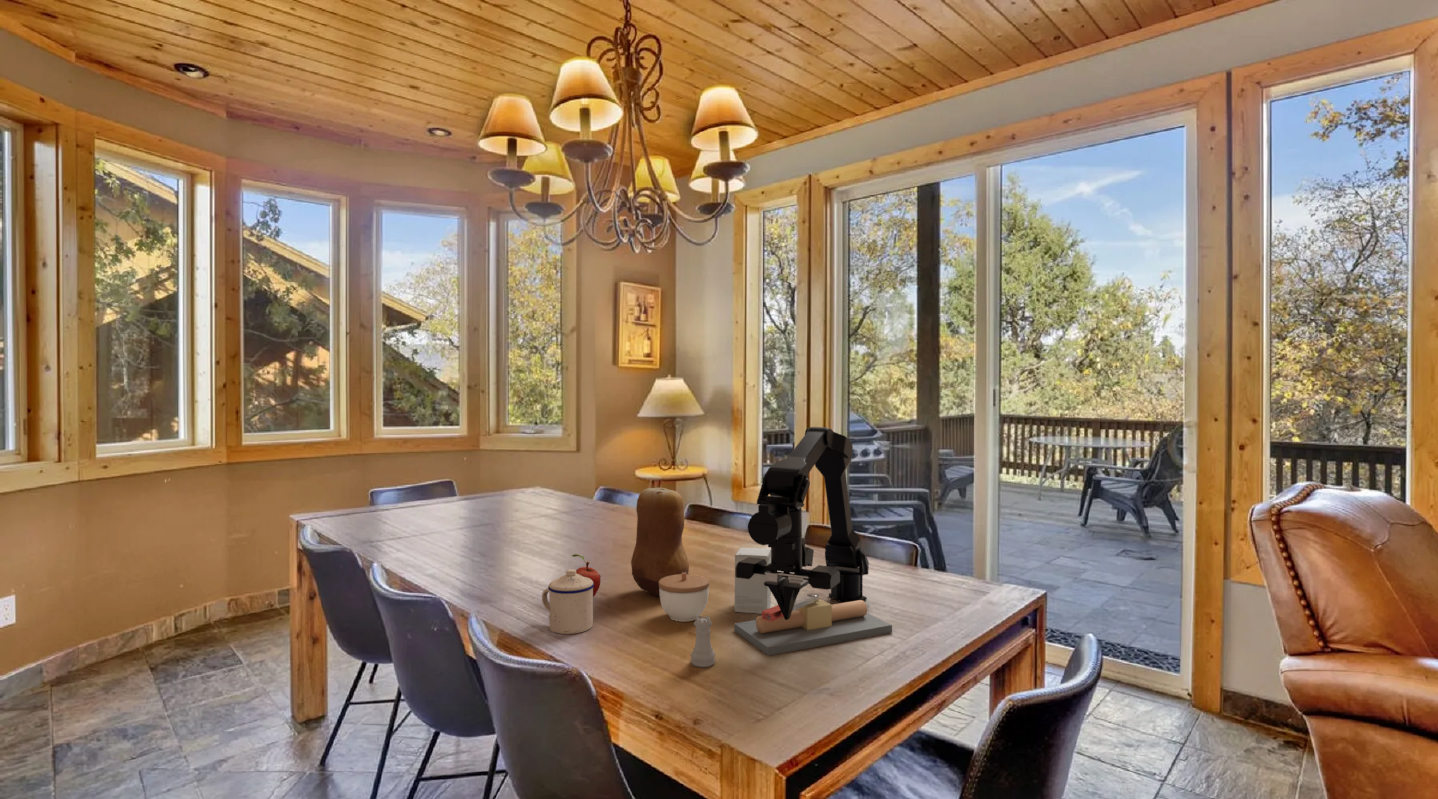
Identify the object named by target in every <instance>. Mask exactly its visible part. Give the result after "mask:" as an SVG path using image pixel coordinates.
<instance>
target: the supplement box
mask: <svg viewBox="0 0 1438 799" xmlns="http://www.w3.org/2000/svg"><path fill="white" fill-rule="evenodd" d="M748 557H753V558H762V559H765V560H766V562H767V565H768V564H770V563H771V548H762V547H761V548H760V547H740V548H738V550H737V551H736V553H735V554H734V569H735V568H736V565H737V563H738V562H740V561H742V560H744V559H746V558H748ZM764 582H766V575H763V574H755V573H754V575H753V576H752V577H751V578H750V579H743V578H737V577H735V576H734V613H735V612H736V613H746V614H759V615H762V611H764V610H766V609H769V608H770V606H771V604H772V592H771V591H770V589H769V587H768V586H764Z"/></svg>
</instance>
